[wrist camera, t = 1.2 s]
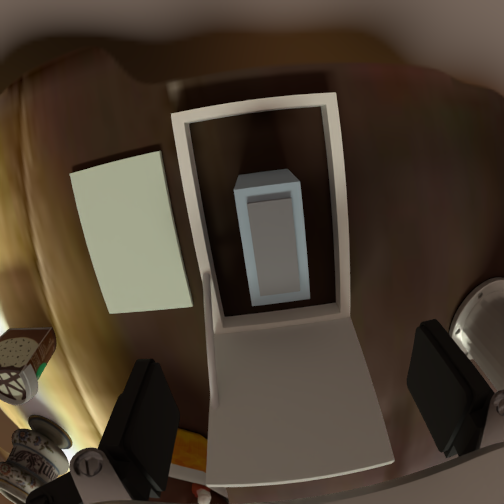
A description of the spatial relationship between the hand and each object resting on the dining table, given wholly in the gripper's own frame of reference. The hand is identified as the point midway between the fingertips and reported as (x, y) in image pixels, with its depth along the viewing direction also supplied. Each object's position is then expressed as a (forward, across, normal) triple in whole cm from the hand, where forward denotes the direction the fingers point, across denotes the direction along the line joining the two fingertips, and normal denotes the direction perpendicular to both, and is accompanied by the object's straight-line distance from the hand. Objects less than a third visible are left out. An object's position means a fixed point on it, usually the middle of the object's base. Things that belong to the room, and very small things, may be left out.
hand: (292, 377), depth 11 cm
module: (+21, 0, 0) cm, 21 cm away
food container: (+22, +34, +13) cm, 42 cm away
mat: (+21, +14, 0) cm, 25 cm away
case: (+21, 0, +2) cm, 21 cm away
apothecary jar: (+22, +45, +34) cm, 60 cm away
